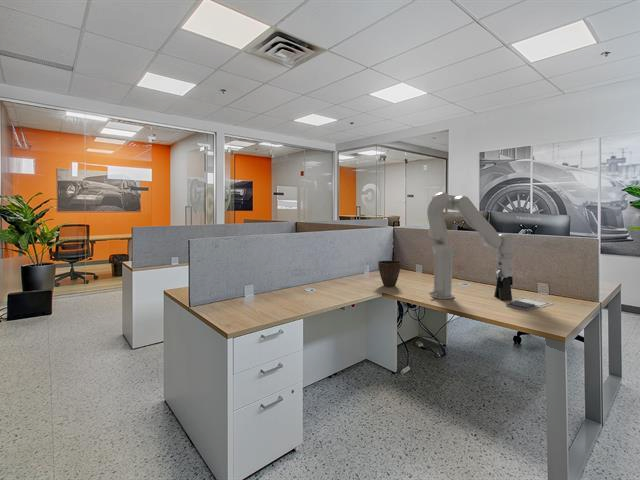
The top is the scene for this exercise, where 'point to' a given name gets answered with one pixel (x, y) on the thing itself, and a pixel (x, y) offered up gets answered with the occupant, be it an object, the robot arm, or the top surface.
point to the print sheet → (533, 302)
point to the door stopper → (504, 291)
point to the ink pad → (521, 305)
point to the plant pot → (389, 272)
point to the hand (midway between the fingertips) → (504, 286)
